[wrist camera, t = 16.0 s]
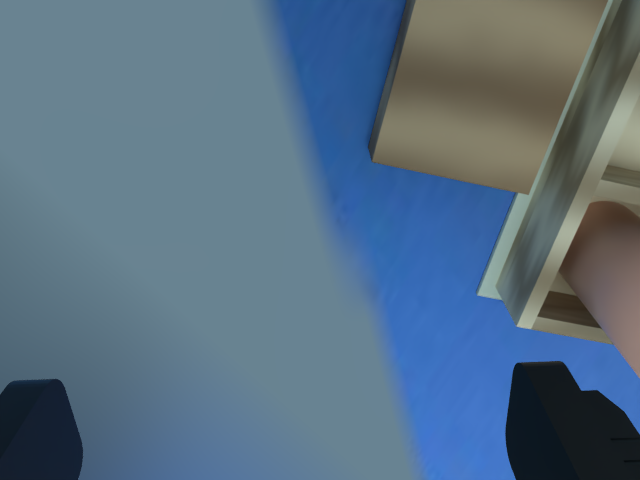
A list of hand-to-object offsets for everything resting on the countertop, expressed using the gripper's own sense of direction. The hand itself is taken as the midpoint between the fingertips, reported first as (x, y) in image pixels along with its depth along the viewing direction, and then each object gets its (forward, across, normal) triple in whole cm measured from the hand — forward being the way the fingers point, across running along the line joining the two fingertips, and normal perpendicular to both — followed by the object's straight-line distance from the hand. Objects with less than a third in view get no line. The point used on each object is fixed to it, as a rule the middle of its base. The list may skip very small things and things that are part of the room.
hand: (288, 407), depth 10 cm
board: (+28, -10, 0) cm, 30 cm away
